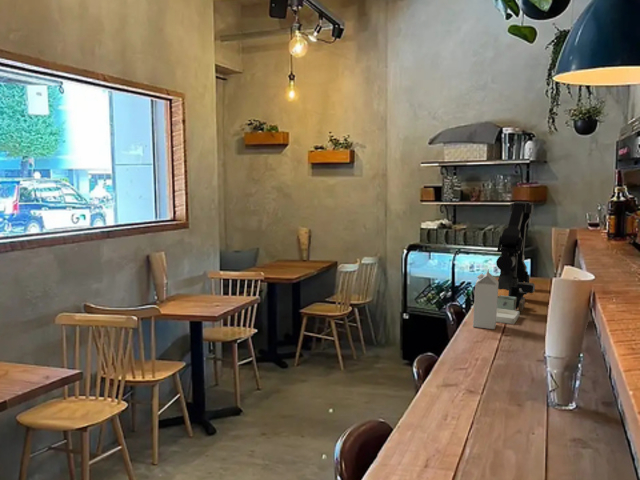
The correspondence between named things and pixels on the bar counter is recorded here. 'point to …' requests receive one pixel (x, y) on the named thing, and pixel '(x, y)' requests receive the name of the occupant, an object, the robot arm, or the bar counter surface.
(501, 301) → the block with peg handle
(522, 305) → the dock
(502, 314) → the tray
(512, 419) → the bar counter surface
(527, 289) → the robot arm
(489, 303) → the milk carton
